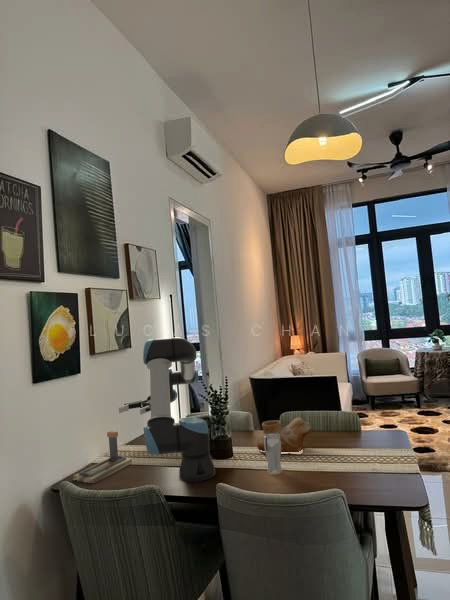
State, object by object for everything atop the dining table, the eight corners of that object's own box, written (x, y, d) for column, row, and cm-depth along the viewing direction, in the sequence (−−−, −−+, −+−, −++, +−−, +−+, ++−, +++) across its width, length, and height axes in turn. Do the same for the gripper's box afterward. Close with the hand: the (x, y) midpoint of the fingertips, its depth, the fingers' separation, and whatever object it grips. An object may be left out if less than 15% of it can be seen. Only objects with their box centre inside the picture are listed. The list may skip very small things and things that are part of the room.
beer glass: (282, 475, 169) (279, 438, 170) (265, 475, 171) (262, 438, 171) (283, 469, 176) (281, 433, 176) (267, 469, 177) (264, 433, 178)
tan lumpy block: (314, 455, 190) (311, 422, 190) (256, 456, 194) (253, 423, 194) (313, 445, 203) (310, 414, 204) (258, 446, 208) (256, 415, 208)
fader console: (131, 463, 197) (131, 456, 197) (93, 483, 176) (93, 475, 176) (112, 460, 203) (112, 454, 203) (73, 480, 182) (72, 472, 182)
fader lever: (120, 460, 196) (118, 431, 196) (116, 462, 194) (114, 433, 194) (112, 459, 198) (110, 431, 198) (108, 461, 196) (106, 432, 196)
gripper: (175, 409, 220) (150, 420, 202) (138, 406, 232) (111, 417, 213) (174, 394, 221) (149, 404, 202) (137, 393, 232) (110, 402, 214)
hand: (129, 411), depth 208 cm, fingers open, 13 cm apart
